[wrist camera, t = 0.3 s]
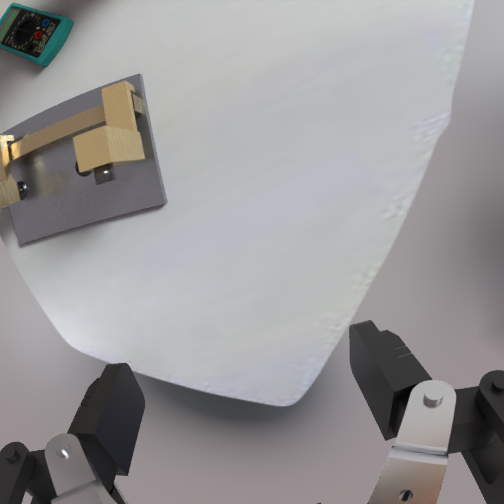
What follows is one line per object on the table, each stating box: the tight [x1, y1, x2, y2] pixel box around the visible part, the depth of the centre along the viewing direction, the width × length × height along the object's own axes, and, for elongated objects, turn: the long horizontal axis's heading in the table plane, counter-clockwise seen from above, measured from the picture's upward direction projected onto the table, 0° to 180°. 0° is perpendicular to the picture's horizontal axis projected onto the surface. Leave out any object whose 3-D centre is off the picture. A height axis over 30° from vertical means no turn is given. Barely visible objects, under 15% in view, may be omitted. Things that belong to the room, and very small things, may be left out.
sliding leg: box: [73, 81, 145, 185], centre depth 27 cm, size 10×3×12 cm, turn 11°
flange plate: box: [0, 74, 167, 245], centre depth 34 cm, size 16×23×1 cm
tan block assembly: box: [0, 94, 142, 210], centre depth 27 cm, size 10×22×12 cm, turn 101°
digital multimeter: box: [0, 3, 73, 67], centre depth 27 cm, size 7×15×3 cm, turn 58°
